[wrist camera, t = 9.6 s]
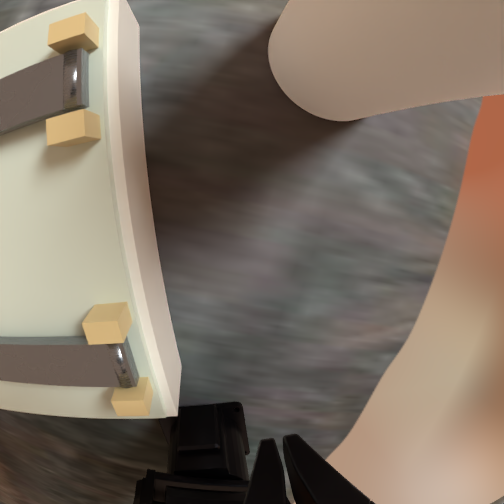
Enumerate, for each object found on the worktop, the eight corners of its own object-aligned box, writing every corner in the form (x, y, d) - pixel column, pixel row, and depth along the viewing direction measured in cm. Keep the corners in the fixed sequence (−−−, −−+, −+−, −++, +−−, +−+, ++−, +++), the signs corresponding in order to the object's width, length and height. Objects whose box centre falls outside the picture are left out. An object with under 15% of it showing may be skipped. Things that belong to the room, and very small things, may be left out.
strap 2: (126, 332, 13) (121, 344, 12) (140, 375, 14) (136, 388, 13) (-54, 333, 12) (-62, 340, 11) (-39, 366, 13) (-46, 374, 12)
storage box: (181, 365, 21) (175, 449, 13) (11, 368, 19) (-30, 426, 12) (139, 26, 14) (106, -39, 7) (-43, 93, 13) (-110, 84, 6)
